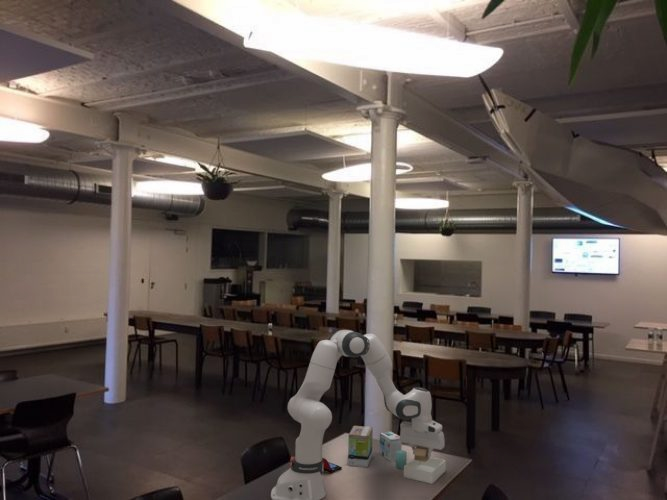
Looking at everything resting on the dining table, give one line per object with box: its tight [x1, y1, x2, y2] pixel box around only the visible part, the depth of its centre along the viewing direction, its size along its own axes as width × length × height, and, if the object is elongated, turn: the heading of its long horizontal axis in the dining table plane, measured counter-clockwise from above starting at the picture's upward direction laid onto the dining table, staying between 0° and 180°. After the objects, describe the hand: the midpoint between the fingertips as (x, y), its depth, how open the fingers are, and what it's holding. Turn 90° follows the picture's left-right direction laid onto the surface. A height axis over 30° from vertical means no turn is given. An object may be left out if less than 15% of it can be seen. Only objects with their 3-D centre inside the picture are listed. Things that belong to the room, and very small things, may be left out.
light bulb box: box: [379, 431, 403, 462], centre depth 256 cm, size 11×7×11 cm, turn 25°
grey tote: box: [403, 456, 447, 485], centre depth 235 cm, size 17×13×5 cm
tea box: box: [347, 425, 374, 468], centre depth 251 cm, size 15×10×15 cm, turn 168°
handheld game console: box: [322, 457, 343, 474], centre depth 241 cm, size 12×11×7 cm
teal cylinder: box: [395, 449, 408, 470], centre depth 243 cm, size 5×5×7 cm
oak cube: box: [413, 445, 430, 462], centre depth 232 cm, size 5×5×5 cm
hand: (421, 455), depth 232 cm, fingers closed on oak cube, 5 cm apart
